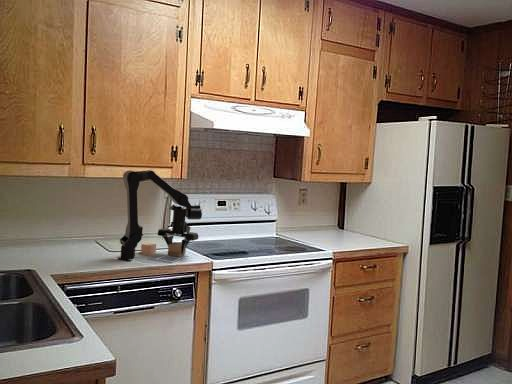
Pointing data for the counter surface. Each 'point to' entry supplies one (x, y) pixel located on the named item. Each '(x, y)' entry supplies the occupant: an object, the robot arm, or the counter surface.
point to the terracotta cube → (148, 248)
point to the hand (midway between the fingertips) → (176, 252)
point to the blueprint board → (167, 258)
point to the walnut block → (175, 249)
